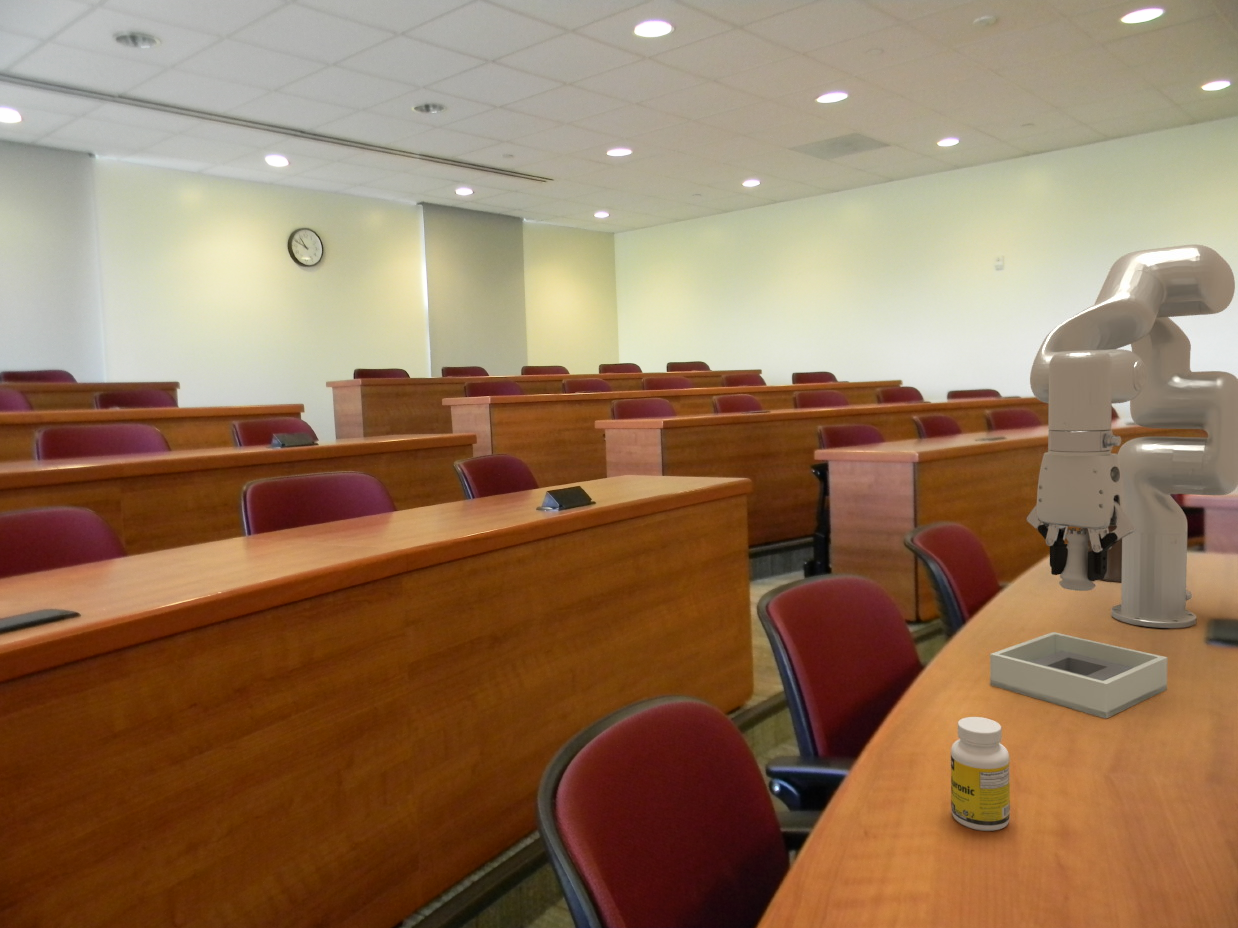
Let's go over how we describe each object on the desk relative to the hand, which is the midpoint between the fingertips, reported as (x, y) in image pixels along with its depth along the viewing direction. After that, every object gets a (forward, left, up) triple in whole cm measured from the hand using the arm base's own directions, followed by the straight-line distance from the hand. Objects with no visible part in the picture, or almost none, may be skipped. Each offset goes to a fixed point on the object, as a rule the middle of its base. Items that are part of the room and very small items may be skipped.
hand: (1077, 574), depth 120 cm
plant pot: (-68, -28, -16) cm, 75 cm away
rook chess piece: (0, 0, -2) cm, 2 cm away
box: (0, 0, -16) cm, 16 cm away
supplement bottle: (+42, +13, -16) cm, 47 cm away
